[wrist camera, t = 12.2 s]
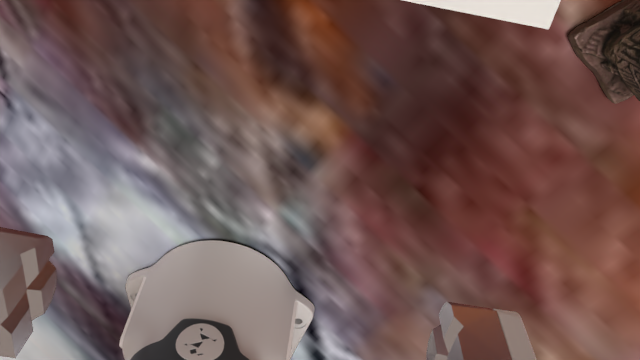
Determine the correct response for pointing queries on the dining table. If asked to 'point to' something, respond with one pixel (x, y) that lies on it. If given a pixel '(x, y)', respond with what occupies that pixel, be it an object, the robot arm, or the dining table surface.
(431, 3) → the frame
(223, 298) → the robot arm
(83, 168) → the dining table surface
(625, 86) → the statue
